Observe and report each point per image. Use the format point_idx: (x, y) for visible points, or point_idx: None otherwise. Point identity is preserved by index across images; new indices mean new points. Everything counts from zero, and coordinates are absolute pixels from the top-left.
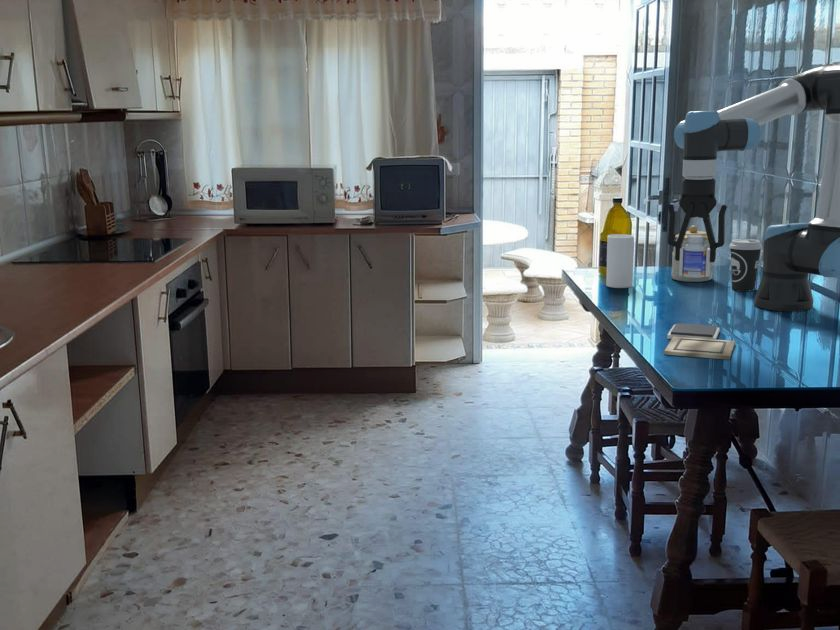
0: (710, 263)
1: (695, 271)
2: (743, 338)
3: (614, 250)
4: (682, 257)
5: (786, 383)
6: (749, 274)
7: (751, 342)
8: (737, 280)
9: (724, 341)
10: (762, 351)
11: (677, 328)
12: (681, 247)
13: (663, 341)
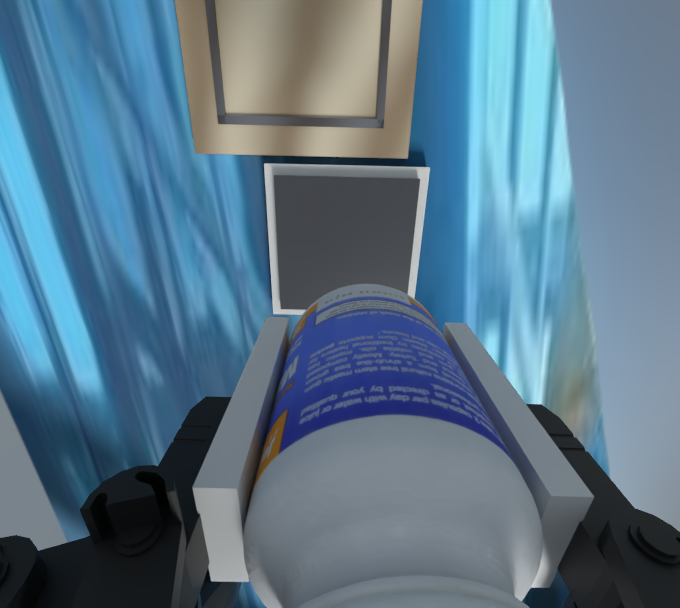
0: None
1: (354, 298)
2: (193, 246)
3: None
4: (501, 409)
5: None
6: None
7: (157, 199)
8: None
9: (224, 121)
10: (89, 72)
11: (399, 238)
12: (560, 558)
13: (438, 122)
